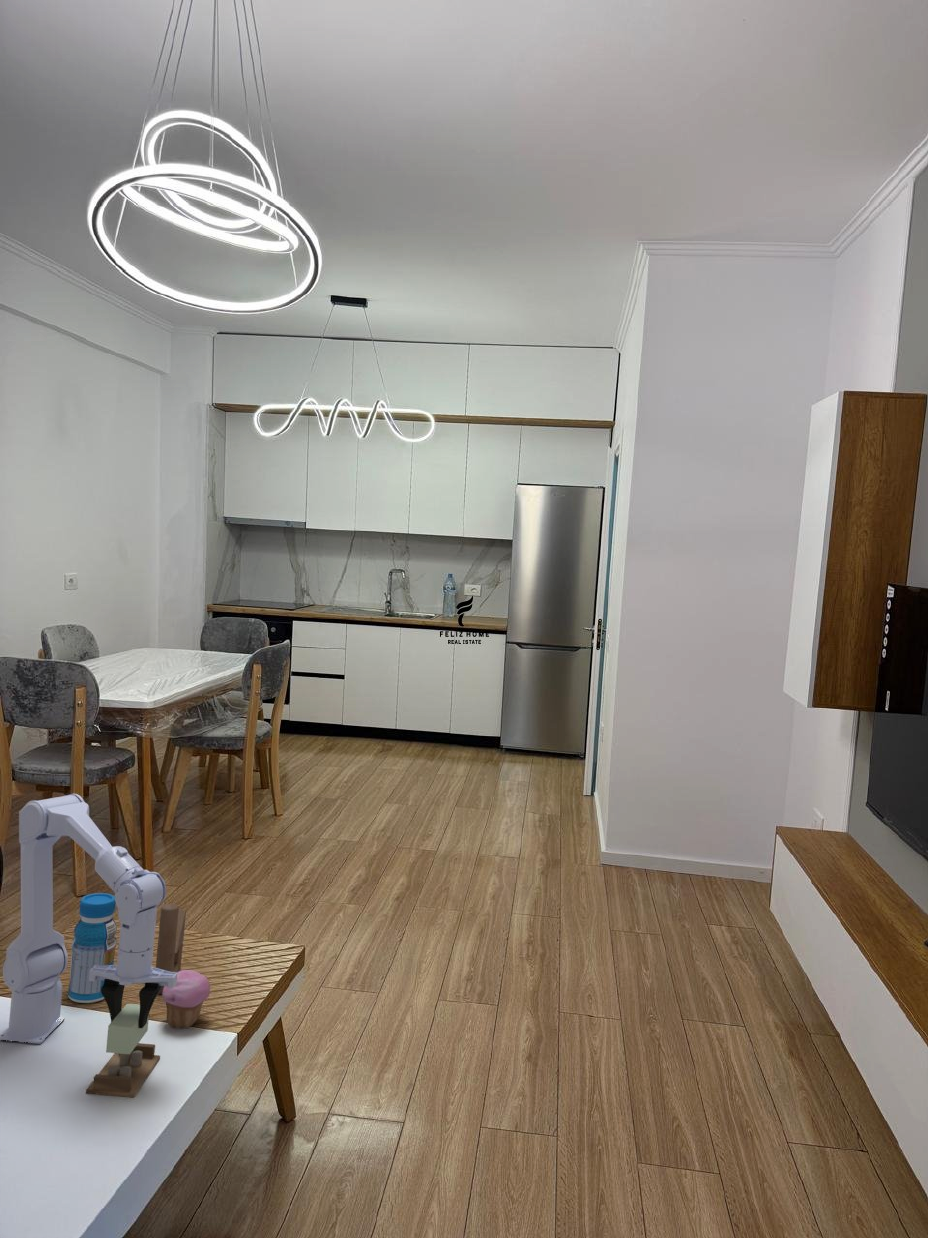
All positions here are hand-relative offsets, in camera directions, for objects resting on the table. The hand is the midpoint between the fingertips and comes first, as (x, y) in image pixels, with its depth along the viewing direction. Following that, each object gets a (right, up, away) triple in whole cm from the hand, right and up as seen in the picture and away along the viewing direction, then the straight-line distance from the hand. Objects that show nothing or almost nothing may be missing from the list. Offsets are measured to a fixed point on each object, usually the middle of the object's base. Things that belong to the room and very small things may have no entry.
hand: (129, 1024), depth 144 cm
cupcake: (+3, -9, +19) cm, 21 cm away
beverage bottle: (-19, -7, +27) cm, 34 cm away
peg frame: (-1, -9, 0) cm, 9 cm away
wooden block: (-6, -9, +35) cm, 37 cm away
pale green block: (0, -3, 0) cm, 3 cm away
